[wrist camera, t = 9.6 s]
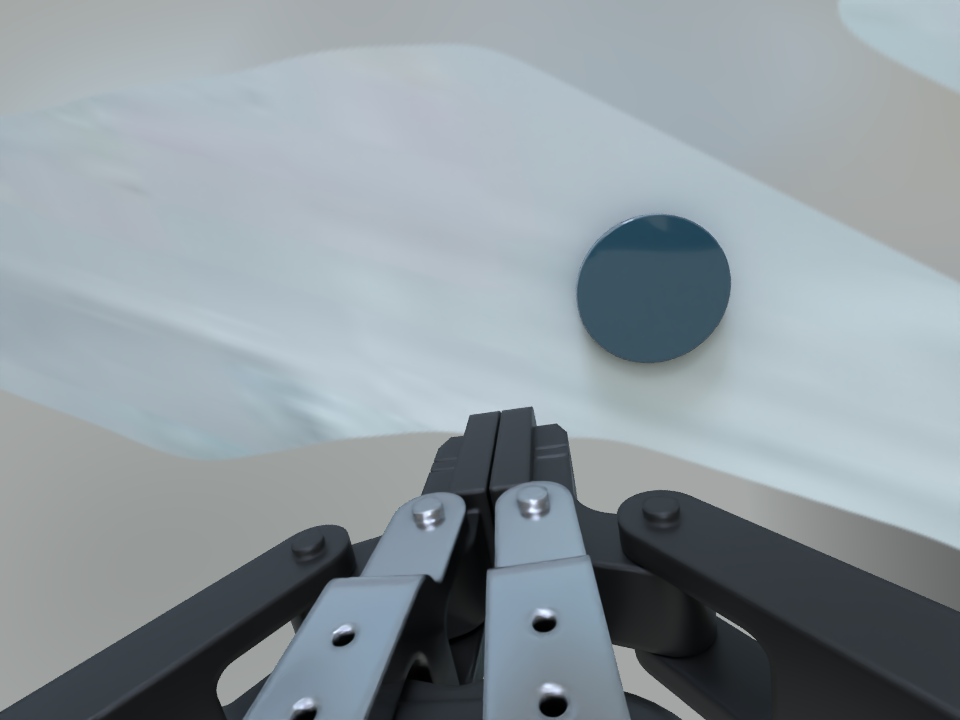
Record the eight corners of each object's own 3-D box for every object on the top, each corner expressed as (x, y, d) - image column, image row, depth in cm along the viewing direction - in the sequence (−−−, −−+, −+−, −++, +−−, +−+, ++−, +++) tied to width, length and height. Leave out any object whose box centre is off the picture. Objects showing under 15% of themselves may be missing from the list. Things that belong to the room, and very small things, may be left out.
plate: (648, 180, 25) (653, 180, 24) (754, 279, 26) (764, 284, 25) (545, 294, 27) (546, 299, 26) (647, 382, 28) (652, 391, 27)
